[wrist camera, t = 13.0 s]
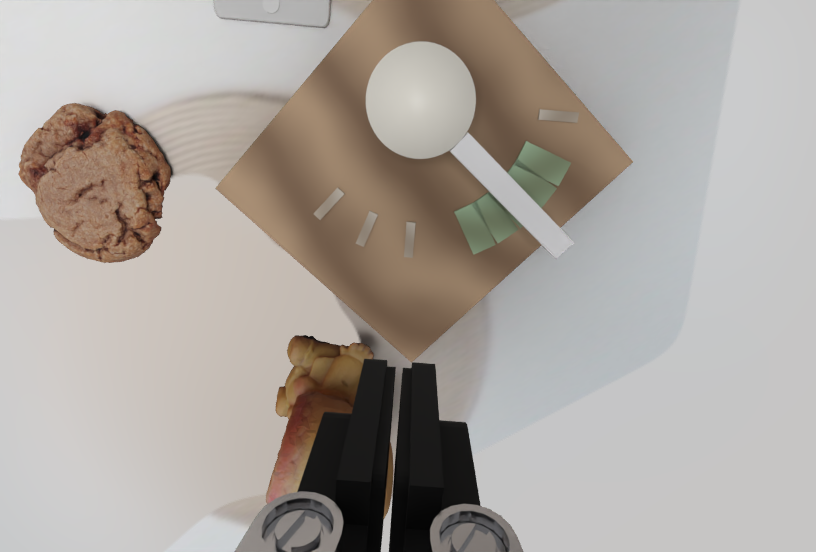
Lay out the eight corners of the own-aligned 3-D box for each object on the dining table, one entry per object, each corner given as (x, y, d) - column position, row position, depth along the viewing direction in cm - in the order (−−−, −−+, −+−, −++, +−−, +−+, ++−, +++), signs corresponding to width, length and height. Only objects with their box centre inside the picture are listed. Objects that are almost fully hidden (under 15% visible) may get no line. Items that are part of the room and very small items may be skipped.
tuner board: (431, -58, 28) (432, -73, 26) (620, 159, 31) (634, 162, 29) (227, 184, 32) (214, 188, 30) (411, 350, 36) (411, 363, 34)
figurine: (288, 311, 35) (280, 447, 22) (383, 324, 37) (431, 456, 24) (267, 420, 38) (249, 599, 25) (356, 426, 40) (385, 595, 27)
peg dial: (350, 106, 28) (343, 103, 25) (419, 26, 27) (419, 14, 24) (517, 270, 31) (527, 285, 28) (587, 206, 30) (605, 214, 27)
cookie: (77, 269, 35) (47, 282, 32) (11, 124, 32) (-29, 124, 29) (202, 241, 34) (182, 252, 31) (146, 90, 31) (118, 85, 28)
